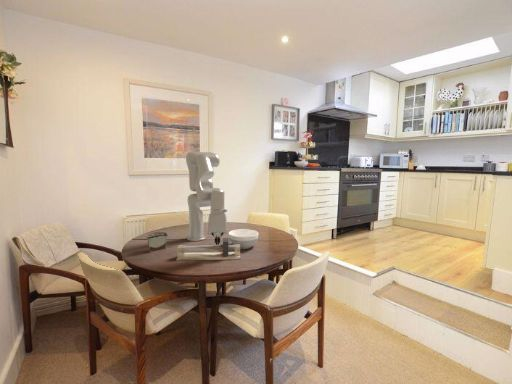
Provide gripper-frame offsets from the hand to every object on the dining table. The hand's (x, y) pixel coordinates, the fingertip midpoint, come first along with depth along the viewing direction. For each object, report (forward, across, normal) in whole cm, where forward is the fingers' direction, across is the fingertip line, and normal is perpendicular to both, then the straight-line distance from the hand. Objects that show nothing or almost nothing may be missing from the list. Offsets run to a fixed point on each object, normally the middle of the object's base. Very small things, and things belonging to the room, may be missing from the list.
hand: (217, 244), depth 139 cm
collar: (+6, -5, 0) cm, 7 cm away
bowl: (+8, -16, -18) cm, 25 cm away
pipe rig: (+7, +4, 0) cm, 8 cm away
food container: (+8, +37, -14) cm, 41 cm away
